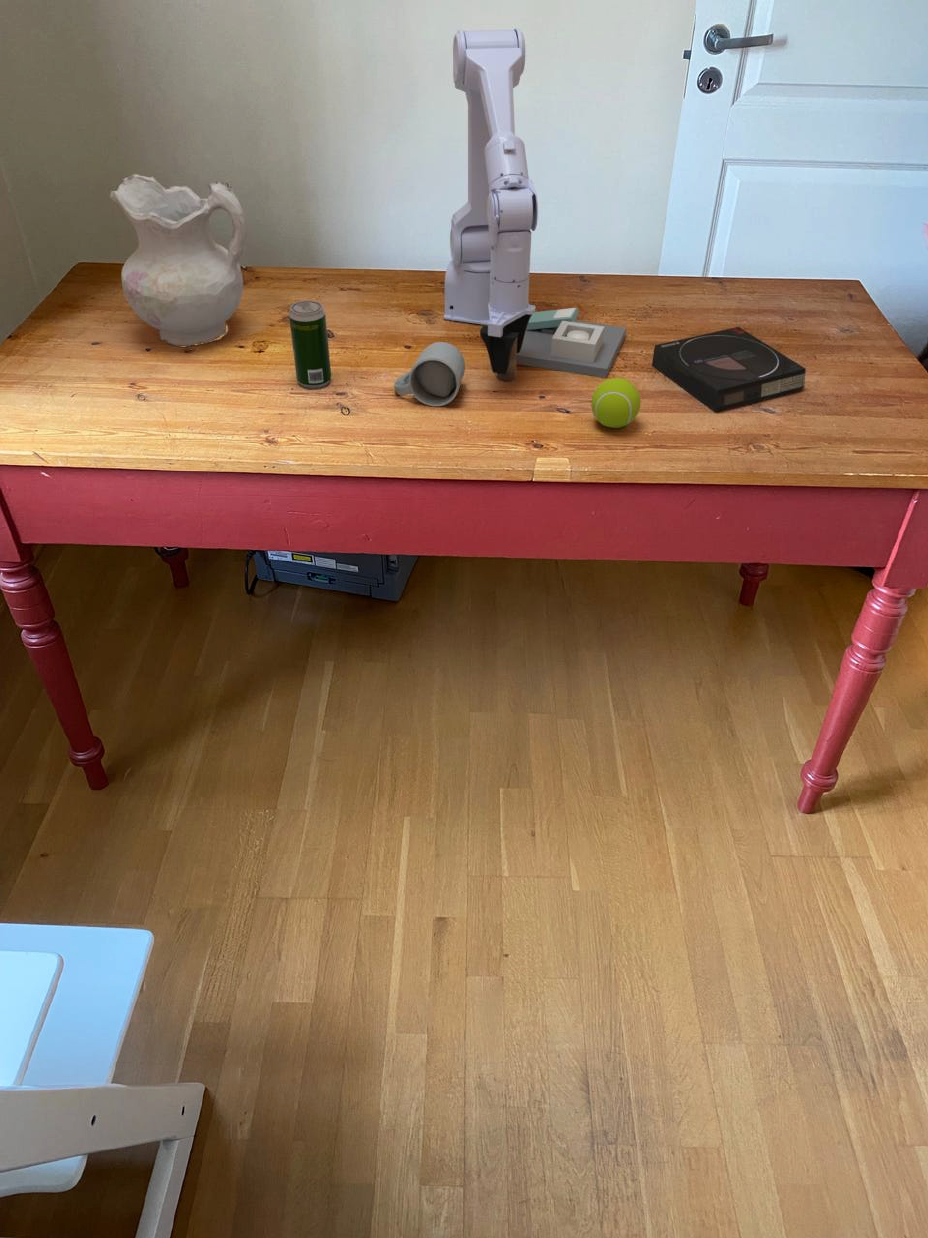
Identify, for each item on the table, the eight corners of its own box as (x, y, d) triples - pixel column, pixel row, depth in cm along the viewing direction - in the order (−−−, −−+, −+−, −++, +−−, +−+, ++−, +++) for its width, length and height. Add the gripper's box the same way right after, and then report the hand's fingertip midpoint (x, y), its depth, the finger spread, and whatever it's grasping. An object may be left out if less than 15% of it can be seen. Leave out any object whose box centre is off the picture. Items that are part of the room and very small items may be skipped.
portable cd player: (715, 416, 140) (720, 392, 137) (651, 368, 151) (654, 345, 149) (802, 394, 145) (808, 370, 142) (733, 349, 157) (738, 326, 154)
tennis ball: (633, 439, 134) (640, 395, 129) (585, 432, 135) (589, 388, 130) (640, 416, 139) (646, 372, 134) (593, 409, 140) (598, 366, 136)
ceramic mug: (467, 383, 146) (466, 336, 141) (459, 408, 140) (458, 360, 135) (400, 379, 147) (397, 333, 142) (389, 404, 141) (386, 356, 136)
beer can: (336, 385, 145) (329, 310, 138) (303, 392, 144) (294, 317, 136) (325, 370, 149) (317, 297, 141) (292, 377, 147) (283, 303, 139)
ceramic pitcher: (272, 315, 167) (252, 163, 152) (255, 356, 152) (232, 191, 137) (150, 317, 167) (118, 164, 152) (121, 358, 151) (83, 193, 136)
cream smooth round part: (563, 346, 150) (564, 337, 149) (569, 337, 153) (569, 328, 152) (585, 350, 149) (586, 341, 148) (590, 340, 152) (591, 331, 151)
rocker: (526, 329, 157) (524, 322, 156) (533, 319, 160) (531, 311, 159) (572, 325, 154) (570, 317, 153) (578, 314, 157) (577, 306, 156)
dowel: (494, 380, 147) (495, 338, 142) (499, 371, 149) (501, 329, 145) (512, 383, 146) (514, 340, 142) (517, 374, 148) (519, 332, 144)
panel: (496, 360, 152) (497, 334, 149) (523, 321, 163) (524, 296, 160) (605, 377, 148) (609, 350, 145) (625, 335, 159) (628, 310, 156)
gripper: (522, 297, 131) (518, 386, 140) (548, 260, 141) (543, 345, 150) (474, 291, 132) (473, 379, 141) (503, 255, 143) (501, 339, 152)
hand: (506, 361), depth 146 cm, fingers open, 7 cm apart
